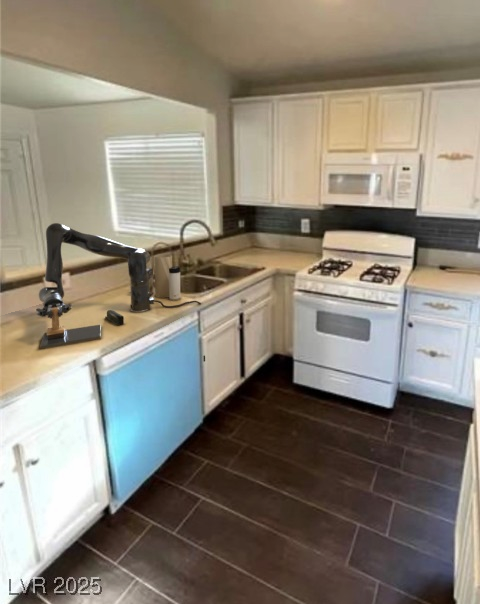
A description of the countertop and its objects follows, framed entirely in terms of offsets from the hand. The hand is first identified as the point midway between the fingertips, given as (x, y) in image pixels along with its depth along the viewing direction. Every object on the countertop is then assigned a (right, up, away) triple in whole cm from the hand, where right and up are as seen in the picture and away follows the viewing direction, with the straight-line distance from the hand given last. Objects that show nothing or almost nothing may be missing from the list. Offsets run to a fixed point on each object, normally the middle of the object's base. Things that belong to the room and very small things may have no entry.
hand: (55, 315), depth 153 cm
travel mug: (+30, -6, +61) cm, 68 cm away
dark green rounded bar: (+12, -10, +25) cm, 30 cm away
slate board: (+3, -12, +7) cm, 14 cm away
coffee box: (+9, -5, +66) cm, 67 cm away
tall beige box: (+20, -5, +67) cm, 70 cm away
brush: (-2, -10, +4) cm, 11 cm away
